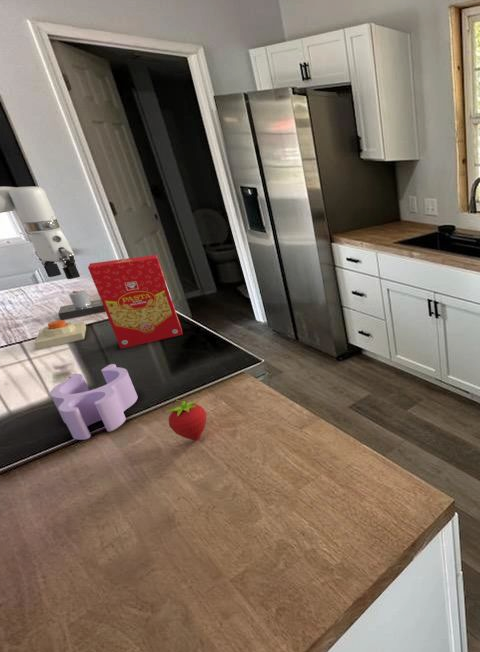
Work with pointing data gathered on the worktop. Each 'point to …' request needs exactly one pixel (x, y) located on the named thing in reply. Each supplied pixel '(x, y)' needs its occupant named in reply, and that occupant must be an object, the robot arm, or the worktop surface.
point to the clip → (94, 401)
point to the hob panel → (81, 310)
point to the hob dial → (80, 299)
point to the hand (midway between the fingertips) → (64, 277)
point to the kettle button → (56, 324)
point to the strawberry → (188, 420)
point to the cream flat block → (60, 335)
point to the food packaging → (136, 300)
